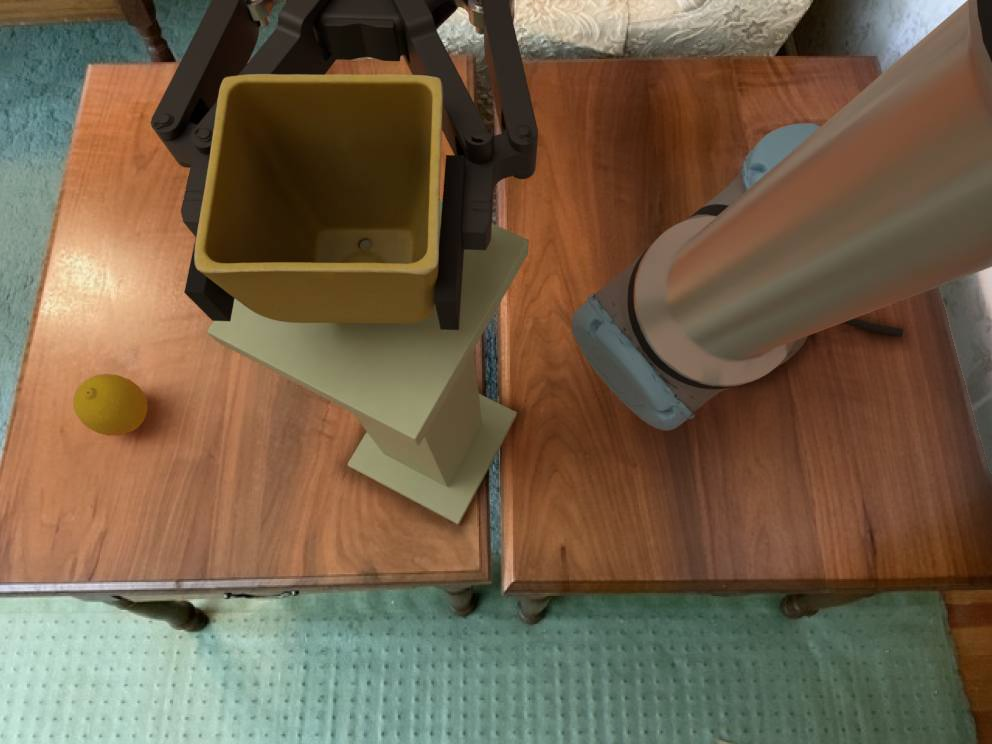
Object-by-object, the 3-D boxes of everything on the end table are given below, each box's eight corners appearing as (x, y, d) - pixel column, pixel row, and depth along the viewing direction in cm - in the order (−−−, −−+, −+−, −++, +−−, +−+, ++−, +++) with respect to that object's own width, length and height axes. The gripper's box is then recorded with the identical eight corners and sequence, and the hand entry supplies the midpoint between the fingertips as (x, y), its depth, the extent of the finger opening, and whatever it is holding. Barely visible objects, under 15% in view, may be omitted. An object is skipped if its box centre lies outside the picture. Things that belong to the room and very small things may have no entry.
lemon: (102, 446, 68) (51, 425, 60) (108, 391, 69) (60, 364, 62) (159, 442, 68) (116, 420, 60) (164, 388, 69) (122, 360, 62)
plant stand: (517, 415, 68) (529, 239, 36) (458, 525, 65) (415, 440, 33) (411, 362, 70) (333, 150, 38) (348, 466, 67) (205, 331, 35)
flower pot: (457, 198, 36) (443, 70, 27) (454, 357, 33) (437, 270, 25) (287, 199, 36) (220, 72, 27) (269, 358, 33) (189, 271, 25)
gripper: (589, -32, 38) (589, 355, 31) (200, -43, 38) (108, 337, 31) (610, -180, 31) (616, 279, 24) (131, -191, 31) (-8, 256, 24)
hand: (327, 311), depth 27 cm, fingers closed on flower pot, 9 cm apart
